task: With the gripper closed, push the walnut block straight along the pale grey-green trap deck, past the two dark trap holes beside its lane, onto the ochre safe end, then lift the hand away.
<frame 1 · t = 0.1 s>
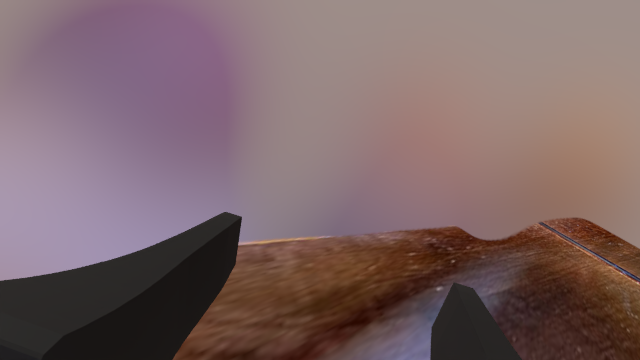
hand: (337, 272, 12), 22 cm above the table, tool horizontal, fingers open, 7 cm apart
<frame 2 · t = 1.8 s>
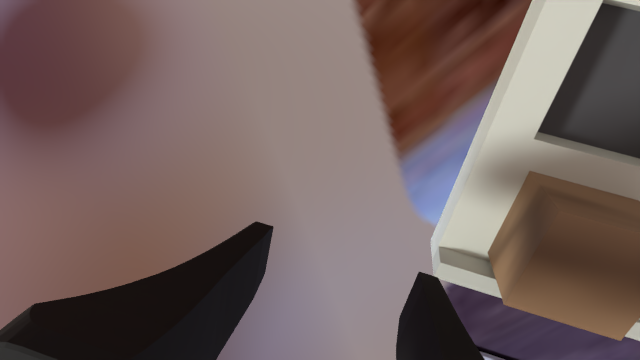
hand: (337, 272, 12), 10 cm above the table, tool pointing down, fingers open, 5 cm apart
walnut block: (557, 228, 19), point 2 cm above the table, touching trap deck
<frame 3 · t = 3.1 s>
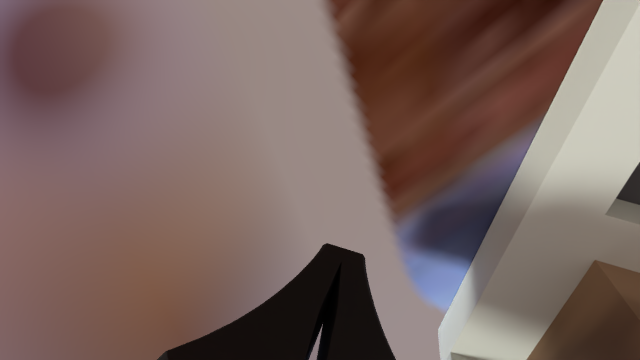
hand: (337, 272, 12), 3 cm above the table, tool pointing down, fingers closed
walnut block: (632, 340, 13), point 2 cm above the table, touching trap deck
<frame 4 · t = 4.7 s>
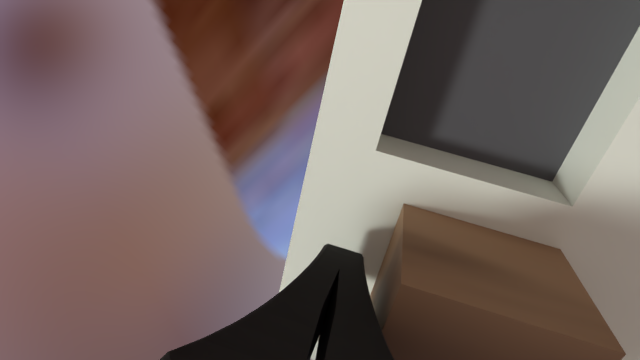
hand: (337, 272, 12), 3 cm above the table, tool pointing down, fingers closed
walnut block: (451, 284, 13), point 2 cm above the table, touching gripper, trap deck
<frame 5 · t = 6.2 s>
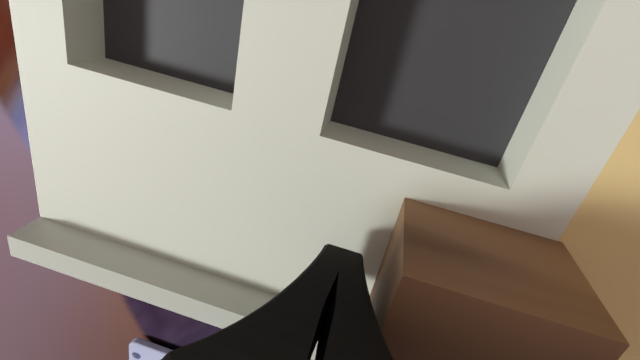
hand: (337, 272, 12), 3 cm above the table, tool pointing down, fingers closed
trap deck: (384, 134, 14), on the table
walnut block: (453, 279, 13), point 2 cm above the table, touching gripper, trap deck
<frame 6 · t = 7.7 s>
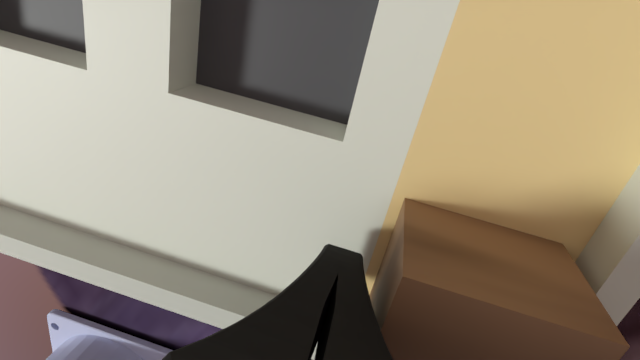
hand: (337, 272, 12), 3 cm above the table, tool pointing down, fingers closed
trap deck: (248, 96, 14), on the table
walnut block: (453, 279, 13), point 2 cm above the table, touching gripper, trap deck
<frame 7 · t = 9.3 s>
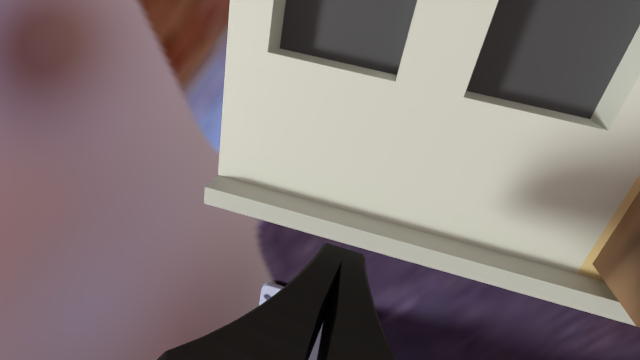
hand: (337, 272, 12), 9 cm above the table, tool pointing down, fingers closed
trap deck: (500, 98, 18), on the table
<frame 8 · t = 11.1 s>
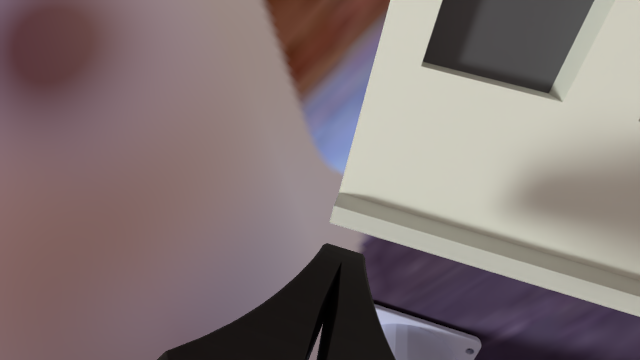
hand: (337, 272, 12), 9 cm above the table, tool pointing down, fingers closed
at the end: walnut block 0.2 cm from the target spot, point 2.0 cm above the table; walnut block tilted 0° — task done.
